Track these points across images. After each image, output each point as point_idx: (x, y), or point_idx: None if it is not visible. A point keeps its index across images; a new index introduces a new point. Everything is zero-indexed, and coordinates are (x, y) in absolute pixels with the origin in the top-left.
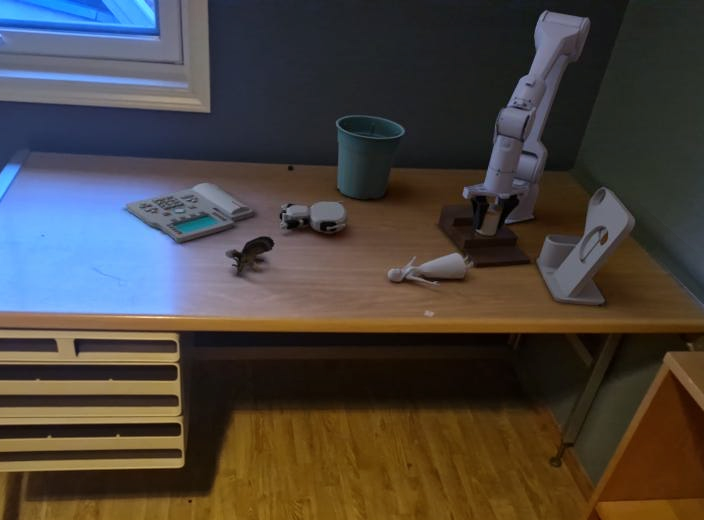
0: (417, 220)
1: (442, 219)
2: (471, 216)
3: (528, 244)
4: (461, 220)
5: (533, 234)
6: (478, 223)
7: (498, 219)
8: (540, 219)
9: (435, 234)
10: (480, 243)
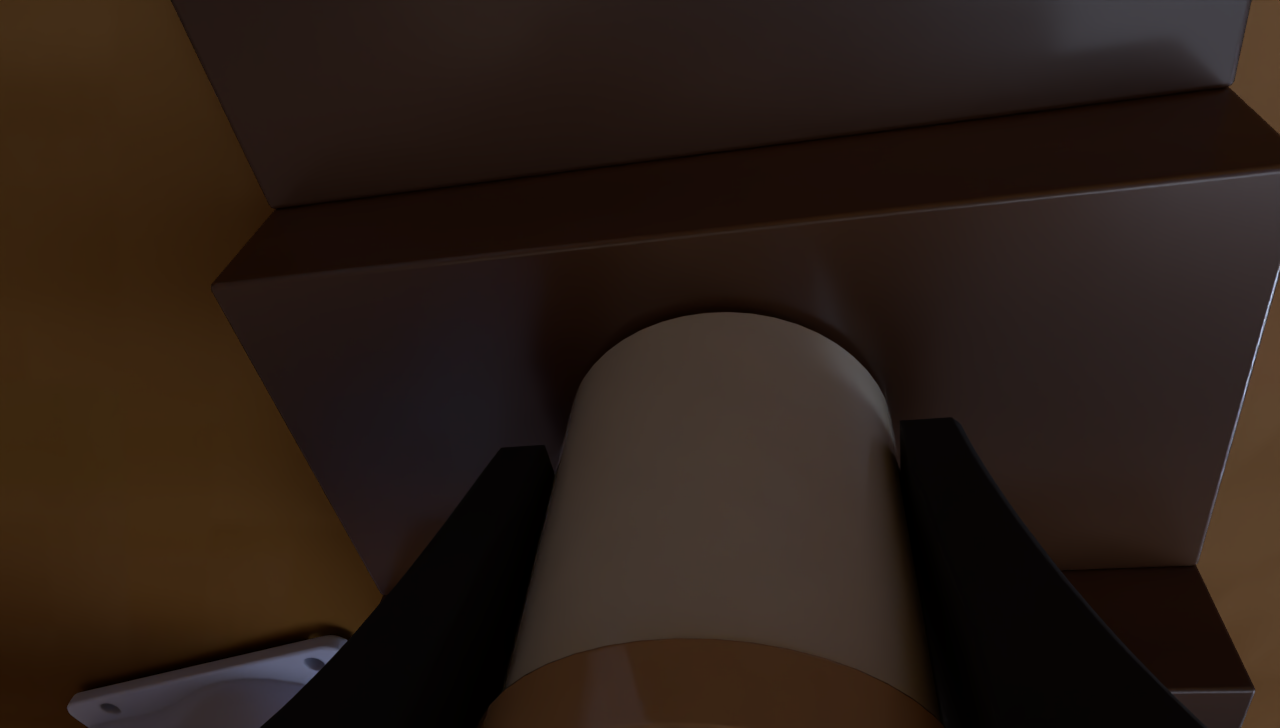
0: (1262, 723)
1: None
2: None
3: (111, 295)
4: None
5: (64, 483)
6: (1010, 505)
7: (578, 563)
8: (19, 679)
9: (1264, 508)
10: (911, 161)
